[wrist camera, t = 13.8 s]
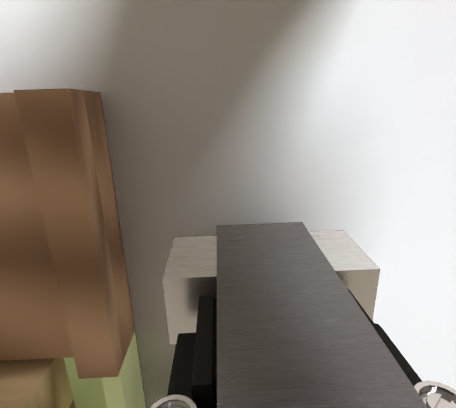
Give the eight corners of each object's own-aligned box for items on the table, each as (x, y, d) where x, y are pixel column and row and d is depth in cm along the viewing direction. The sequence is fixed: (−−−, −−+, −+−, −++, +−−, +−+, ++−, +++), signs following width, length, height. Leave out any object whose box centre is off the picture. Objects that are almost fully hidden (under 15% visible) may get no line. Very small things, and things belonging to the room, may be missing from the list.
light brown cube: (-6, 352, 19) (-62, 414, 15) (61, 348, 19) (21, 409, 15) (11, 402, 20) (-38, 471, 16) (73, 398, 20) (40, 467, 16)
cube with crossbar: (173, 227, 14) (15, 714, 3) (344, 220, 15) (791, 654, 3) (180, 300, 16) (87, 829, 4) (336, 292, 16) (636, 781, 5)
